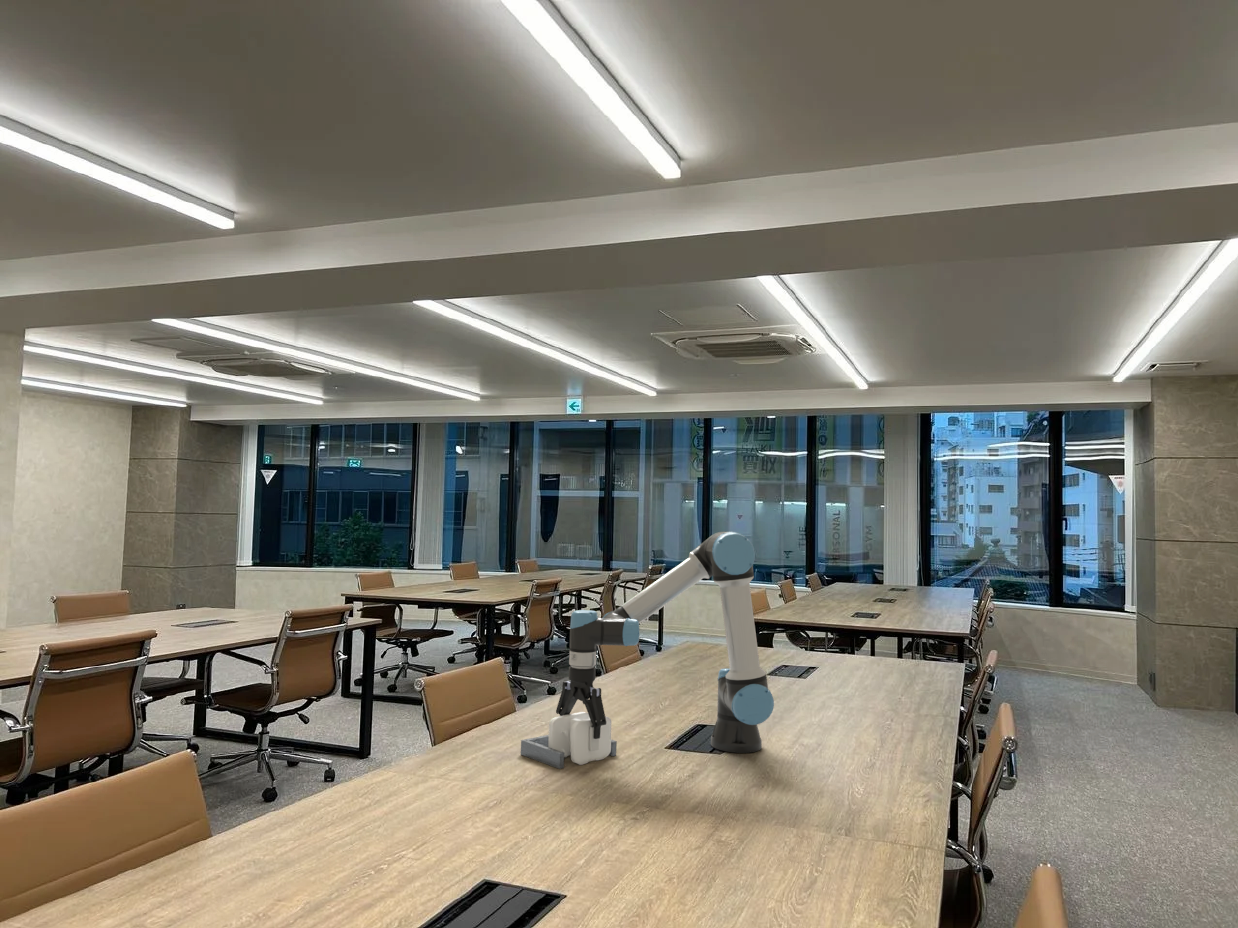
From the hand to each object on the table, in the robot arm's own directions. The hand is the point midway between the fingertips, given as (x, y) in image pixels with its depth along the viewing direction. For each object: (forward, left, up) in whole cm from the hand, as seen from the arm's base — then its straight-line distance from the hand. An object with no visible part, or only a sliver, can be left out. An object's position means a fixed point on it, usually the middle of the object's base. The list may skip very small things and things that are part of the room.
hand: (579, 745), depth 234 cm
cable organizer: (0, 0, -4) cm, 4 cm away
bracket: (+4, 0, -4) cm, 6 cm away
